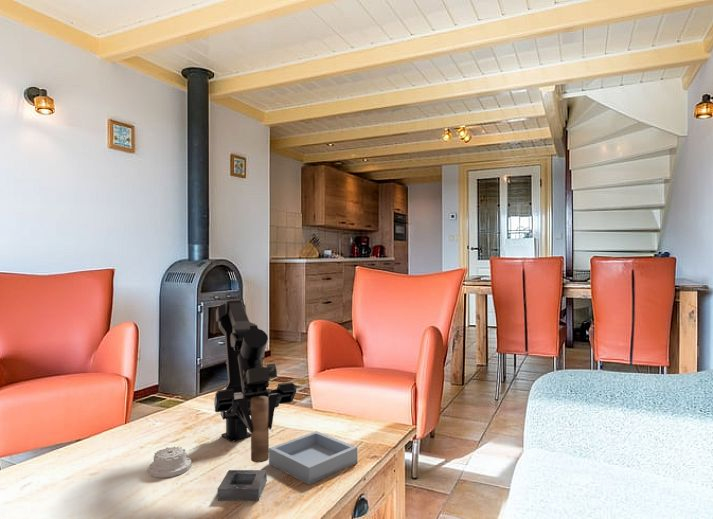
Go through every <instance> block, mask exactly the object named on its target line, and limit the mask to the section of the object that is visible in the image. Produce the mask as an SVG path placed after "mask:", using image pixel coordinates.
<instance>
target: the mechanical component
mask: <svg viewBox="0 0 713 519" xmlns="http://www.w3.org/2000/svg"><path fill="white" fill-rule="evenodd" d="M186 454H187V453H186V448H183V447H182V446H180V447H179V446H173V447H165V448H164V449H158V451H156V452H154V455H153V461H152V462H151V463H150V464H149V465H148V467H147V468H148V475H150V476H151V477H154V478H160V479H161V478H171V477H175V476H176V477H177V476H179V475H182V474H184V473H186V472H188V470H190V469H191V467H192V459H191V458H190V457H188V456H187V455H186Z"/></svg>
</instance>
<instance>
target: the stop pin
mask: <svg viewBox="0 0 713 519" xmlns="http://www.w3.org/2000/svg"><path fill="white" fill-rule="evenodd" d="M250 418H251V422H252V429H253V431H252V433H251V436H250V461H251V462H253V463H256V464H257V463H259V464H260V463H264V462H266V461H269V448H270V447H269V446H270V444H269V443H270V442H269V440H270V437H269V434H270V433H269V418H268V397H266V396H256V397H252V398H251V416H250Z"/></svg>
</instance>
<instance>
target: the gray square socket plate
mask: <svg viewBox="0 0 713 519" xmlns="http://www.w3.org/2000/svg"><path fill="white" fill-rule="evenodd" d="M267 478H268V470H267V469H248V470H247V469H230V470H229V469H228V471H227V472H226V474H225V475H224V477H223V480H222V481H221V482H220V484H219V486H218V487H217V501H259V500H260V498H261V496H262V494H263V491H264V489H265V486H266V484H267V481H268V479H267Z"/></svg>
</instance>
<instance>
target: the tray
mask: <svg viewBox="0 0 713 519" xmlns="http://www.w3.org/2000/svg"><path fill="white" fill-rule="evenodd" d="M268 464H269V465H271V466H272V467H275V468H276V469H278V470H280V471H282V472H284V473H286V474H287V475H289V476H291V477H293V478H295V479H297V480H299V481H301V482H303V483H305V484H307V485H309V486H310V485H313V484H315V483H316V482H319V481H321V480H323V479H325V478H327V477H329V476H332V475H334V474H337V473H339V472H340V471H342V470H346V469H347V468H349V467H352V466H354V465H356V464H358V447H357V446H355V445H352V444H350V443H349V442H348V443H347V442H345V441H344V440H343V441H342V440H340V439H338V438H335V437H332V436H329V435H328V434H325V433H322V432H320V431H317V430H315V431H313V432H309V433H307V434H305V435H301V436H299V437H296V438H293V439H291V440H288V441H285V442H282V443H279V444H277V445H274V446H272V447H269V459H268Z"/></svg>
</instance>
